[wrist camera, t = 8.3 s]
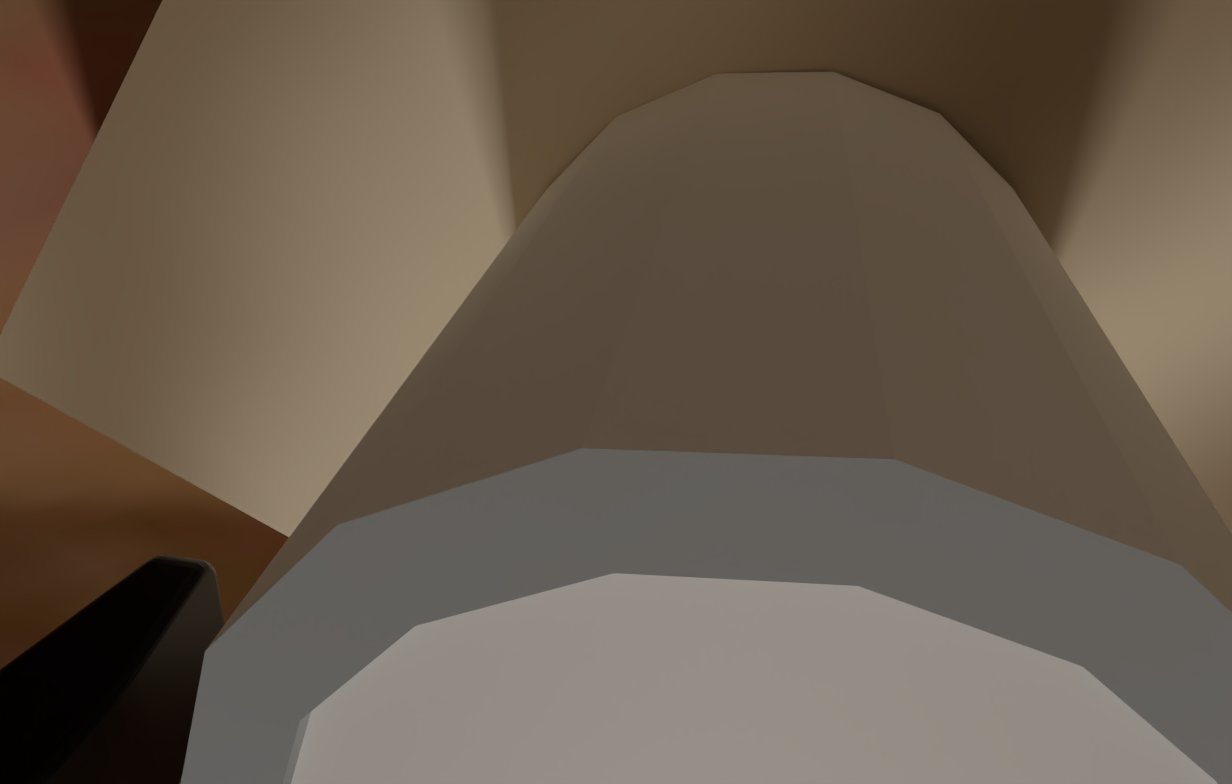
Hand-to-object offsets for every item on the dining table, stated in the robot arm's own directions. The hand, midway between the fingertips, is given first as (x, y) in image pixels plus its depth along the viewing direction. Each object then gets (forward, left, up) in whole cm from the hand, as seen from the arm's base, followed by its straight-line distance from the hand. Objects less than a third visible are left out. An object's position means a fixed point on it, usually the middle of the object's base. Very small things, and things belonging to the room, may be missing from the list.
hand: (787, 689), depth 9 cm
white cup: (0, 0, -5) cm, 5 cm away
